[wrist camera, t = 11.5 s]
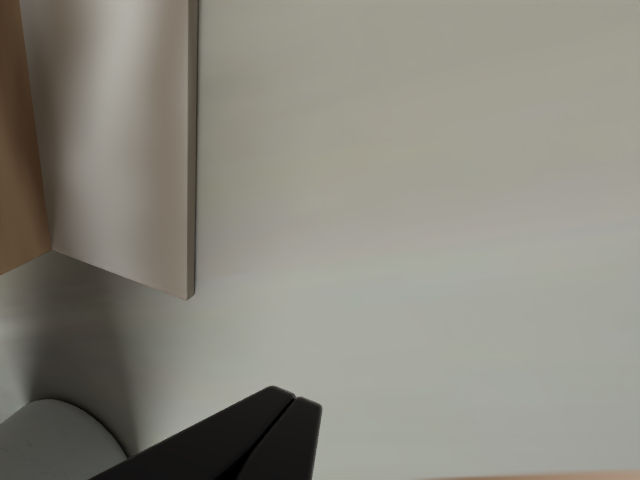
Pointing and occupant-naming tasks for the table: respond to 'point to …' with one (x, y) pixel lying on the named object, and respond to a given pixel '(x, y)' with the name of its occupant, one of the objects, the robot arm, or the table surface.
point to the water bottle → (55, 444)
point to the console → (100, 136)
